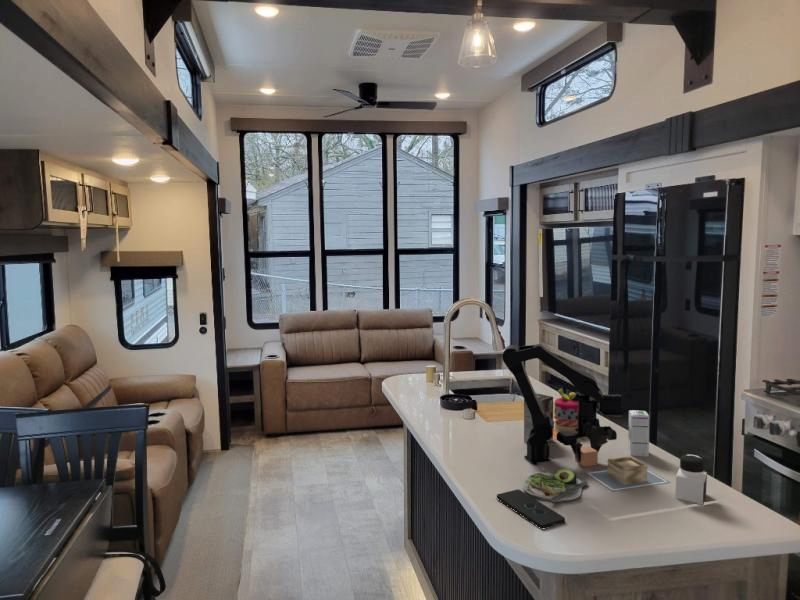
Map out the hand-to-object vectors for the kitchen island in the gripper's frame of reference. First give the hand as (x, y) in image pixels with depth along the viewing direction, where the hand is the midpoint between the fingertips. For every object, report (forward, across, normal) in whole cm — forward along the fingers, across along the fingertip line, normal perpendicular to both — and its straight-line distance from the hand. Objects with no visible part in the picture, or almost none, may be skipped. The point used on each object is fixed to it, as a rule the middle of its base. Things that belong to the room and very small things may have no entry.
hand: (586, 461), depth 193 cm
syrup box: (+1, +21, +2) cm, 21 cm away
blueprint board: (+1, +5, -14) cm, 15 cm away
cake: (+1, +13, +32) cm, 35 cm away
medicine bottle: (+1, +14, -30) cm, 33 cm away
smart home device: (+2, -32, -23) cm, 40 cm away
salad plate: (+2, -19, -13) cm, 23 cm away
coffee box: (+1, -4, +24) cm, 24 cm away
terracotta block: (+1, 0, 0) cm, 1 cm away
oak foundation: (0, +5, -14) cm, 15 cm away
